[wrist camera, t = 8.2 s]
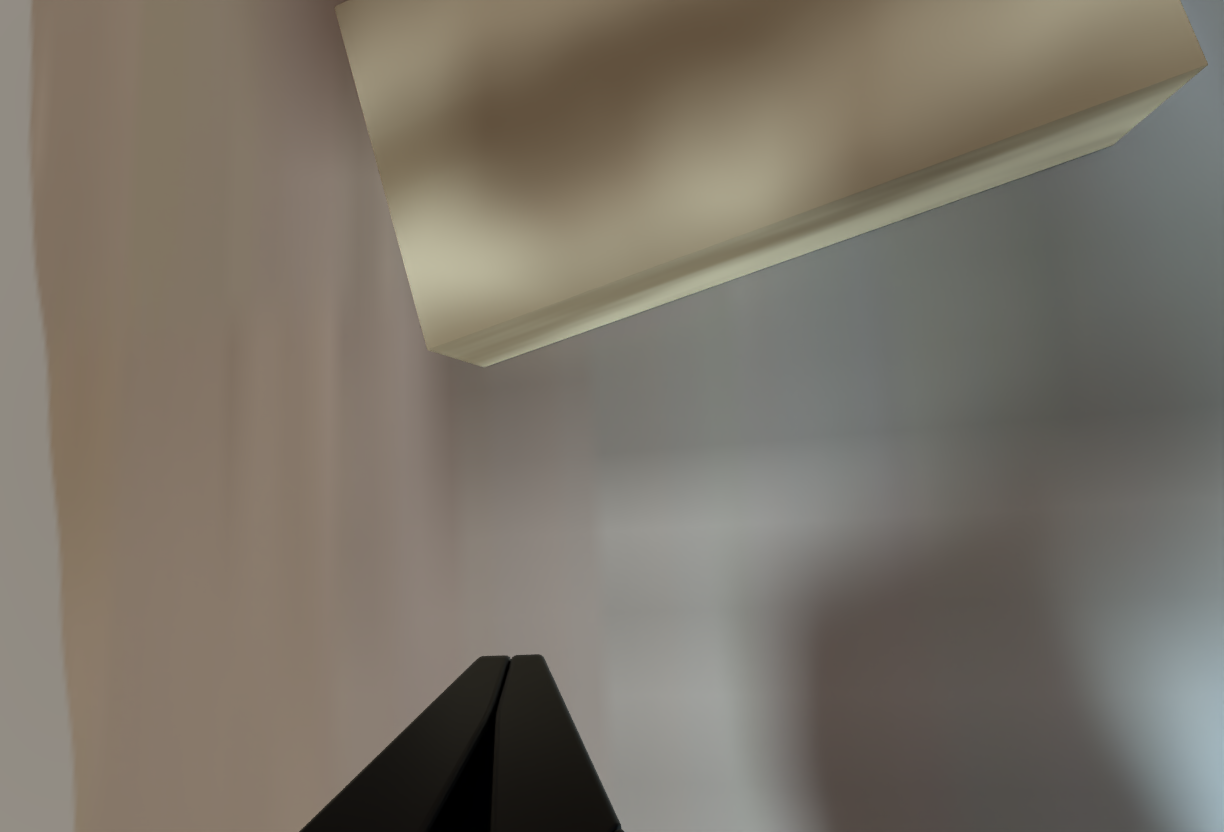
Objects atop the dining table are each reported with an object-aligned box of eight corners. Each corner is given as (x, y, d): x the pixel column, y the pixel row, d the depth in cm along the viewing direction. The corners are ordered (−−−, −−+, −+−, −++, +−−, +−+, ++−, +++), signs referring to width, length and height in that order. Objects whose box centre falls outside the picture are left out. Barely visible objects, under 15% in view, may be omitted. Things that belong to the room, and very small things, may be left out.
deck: (1112, 145, 19) (1207, 64, 15) (484, 367, 22) (427, 349, 18) (977, -182, 20) (1033, -337, 16) (403, 80, 24) (334, 7, 20)
